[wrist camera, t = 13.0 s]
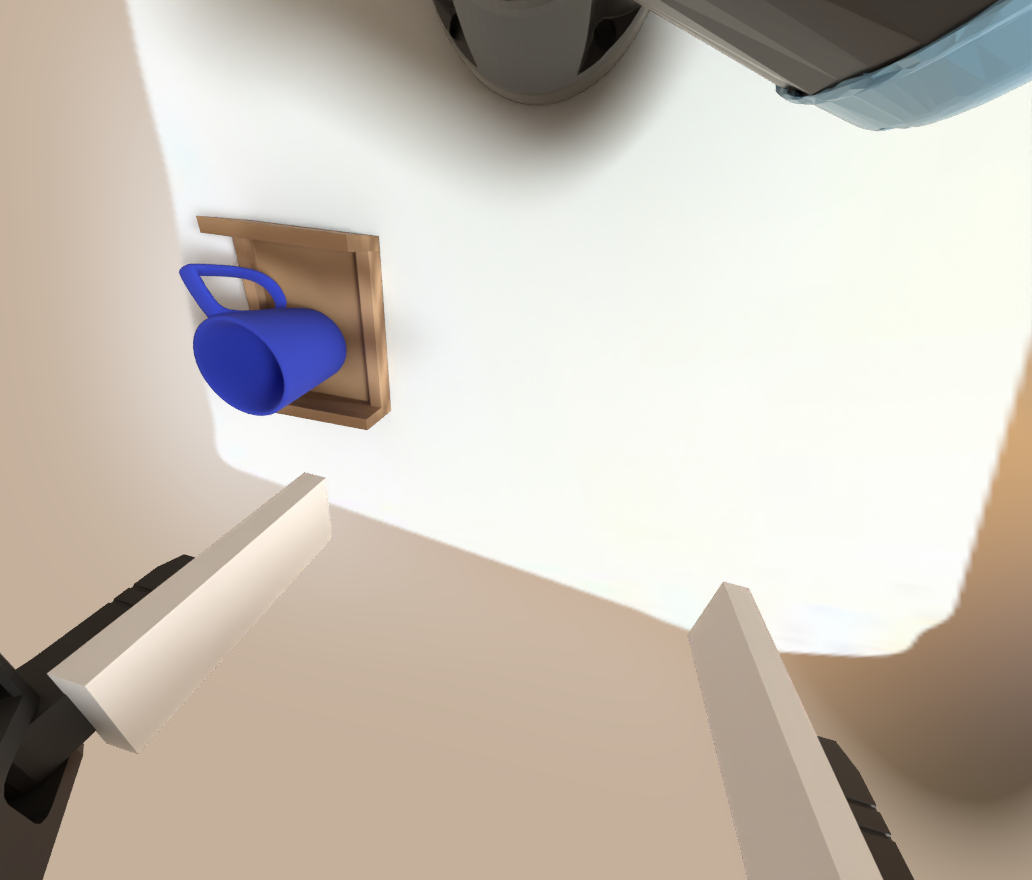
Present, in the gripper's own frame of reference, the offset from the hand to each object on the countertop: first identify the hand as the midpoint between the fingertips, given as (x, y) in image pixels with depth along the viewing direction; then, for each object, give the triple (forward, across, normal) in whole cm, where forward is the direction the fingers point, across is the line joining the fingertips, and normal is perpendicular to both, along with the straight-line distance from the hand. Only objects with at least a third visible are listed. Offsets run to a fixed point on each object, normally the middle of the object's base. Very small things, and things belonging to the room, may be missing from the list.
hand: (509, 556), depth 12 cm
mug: (+25, -26, -2) cm, 36 cm away
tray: (+26, -25, -2) cm, 36 cm away
